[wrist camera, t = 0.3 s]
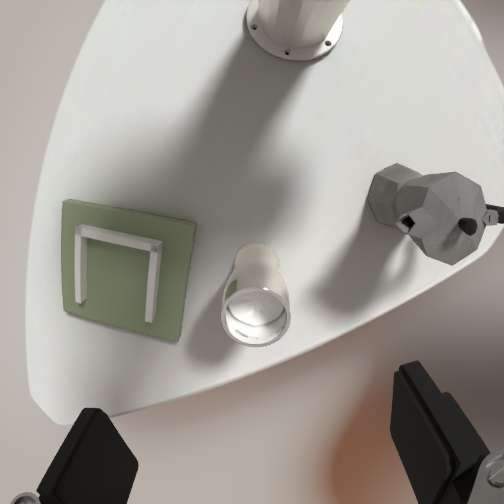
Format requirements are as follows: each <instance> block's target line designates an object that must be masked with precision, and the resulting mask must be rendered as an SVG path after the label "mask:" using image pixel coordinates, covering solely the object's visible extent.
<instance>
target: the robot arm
mask: <svg viewBox="0 0 504 504" xmlns="http://www.w3.org/2000/svg"><path fill="white" fill-rule="evenodd" d="M349 1H350V0H251V1H250V3H249V6H248V8H247V14H246V20H247V26H248V30H249V32H250V34H251V36H252V38H253V39H254V40H255V42H256V43H257V44H258V45H259V46H260V47H261V48H263V49H264V50H265V51H267V52H269V53H270V54H272V55H275V56H277V57H279V58H283V59H287V60H295V61H303V60H310V59H315V58H317V57H320V56H322V55H324V54H326V53H327V52H329V51H330V50H331V49H332V48H333V47H334V46H335V45H336V43H337V42H338V40H339V38H340V36H341V34H342V29H343V20H342V16H341V13H342V12H343V10H344V9H345V7H346V6H347V4H348V3H349ZM253 28H256V30H253ZM325 44H328V46H326V45H325ZM285 53H289V55H286V54H285ZM390 432H391V436H392V439H393V441H394V444H395V446H396V449H397V451H398V453H399V456H400V458H401V461H402V463H403V465H404V468H405V471H406V473H407V475H408V478H409V481H410V483H411V485H412V488H413V491H414V493H415V495H416V498H417V501H418V504H504V449H500V450H497V451H494V452H492V453H490V451H489V450H488V448H487V447H486V445H485V443H484V442H483V440H482V439H481V437H480V436H479V434H478V433H477V431H476V430H475V429H474V427H473V425H472V424H471V422H470V421H469V419H468V418H467V417H466V415H465V414H464V412H463V411H462V409H461V408H460V406H459V405H458V404H457V402H456V401H455V399H454V398H453V397H452V396H451V394H450V393H447V392H445V393H441V392H440V390H439V389H438V387H437V386H436V385H435V383H434V382H433V380H432V379H431V377H430V376H429V375H428V373H427V372H426V370H425V369H424V368H423V366H422V365H421V363H420V362H419V361H413V362H410V363H407V364H404V365H401V366H400V367H399V371H397V372H395V373H394V385H393V400H392V413H391V424H390ZM137 470H138V461H137V459H136V458H135V456H134V455H133V454H132V452H131V450H130V449H129V448H128V446H127V445H126V443H125V442H124V440H123V439H122V437H121V436H120V434H119V433H118V431H117V430H116V428H115V427H114V425H113V423H112V422H111V420H110V419H109V417H108V415H107V414H106V413H105V412H103V411H102V410H101V409H100V408H84V409H83V410H82V411H81V413H80V415H79V416H78V418H77V420H76V421H75V423H74V425H73V426H72V428H71V430H70V432H69V433H68V435H67V437H66V438H65V440H64V442H63V444H62V445H61V447H60V449H59V451H58V452H57V454H56V456H55V457H54V459H53V461H52V463H51V465H50V466H49V468H48V470H47V472H46V474H45V475H44V477H43V479H42V481H41V483H40V485H39V486H38V488H37V492H38V493H39V494H40V496H39V498H38V497H37V496H36V495H35V494H33V493H28V492H25V493H21V494H19V495H18V496H16V497H15V498H14V499H13V501H12V502H11V504H127V501H128V498H129V494H130V492H131V488H132V486H133V482H134V479H135V476H136V473H137Z"/></svg>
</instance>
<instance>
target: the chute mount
mask: <svg viewBox="0 0 504 504" xmlns="http://www.w3.org/2000/svg"><path fill="white" fill-rule="evenodd" d="M195 229H196V223H194V222H189V221H184V220H179V219H174V218H168V217H163V216H158V215H153V214H148V213H142V212H137V211H132V210H127V209H121V208H116V207H111V206H105V205H100V204H94V203H89V202H83V201H78V200H72V199H68V200H65V201H63V205H62V229H61V270H62V294H63V309H64V311H66V312H70V313H73V314H76V315H79V316H82V317H85V318H88V319H92V320H95V321H98V322H102V323H105V324H109V325H112V326H116V327H119V328H123V329H126V330H130V331H134V332H138V333H141V334H145V335H149V336H153V337H157V338H161V339H165V340H169V341H174V342H178V341H179V338H180V336H181V328H182V320H183V312H184V304H185V296H186V289H187V282H188V275H189V268H190V261H191V254H192V248H193V241H194V235H195Z"/></svg>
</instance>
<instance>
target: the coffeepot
mask: <svg viewBox="0 0 504 504" xmlns="http://www.w3.org/2000/svg"><path fill="white" fill-rule="evenodd" d="M368 201H369V203H370V206H371V209H372V211H373V213H374V215H375V217H376V220H377V222H380V223H383V224H385V225H388V226H391V227H393V228H396V229H399V230H400V231H401V232H402V233H405V234H408V235H409V236H410V237H411V238H412V239H413V241H414V242H415V243H416V244H417V245H418V246H419V248H420V249H421V250H422V251H423V252H424V254H425V255H426V256H428V257H431V258H433V259H436V260H439V261H441V262H444V263H447V264H449V265H454V264H456V263H457V262H459V261H460V260H462V259H463V258H465V257H467V256H468V255H470V254H471V253H473V252H474V251H476V250H477V249H478V246H479V243H480V241H481V238H482V235H483V232H484V230H485V227H486V225H487V226H489V225H497V223H500V224H503V223H504V207H499V206H493V205H488V204H485V200H484V197H483V193H482V189H481V186H480V185H478V184H477V183H475V182H473V181H471V180H470V179H468V178H466V177H464V176H463V175H461V174H459V173H457V172H450V173H439V174H429V175H424V176H423V175H421V174H420V173H418V172H416V171H414V170H411V169H409V168H407V167H405V166H403V165H400V164H398V163H396V164H394V165H392V166H389V167H387V168H385V169H383V170H382V171H380V172H378V173H376V174H375V177H374V180H373V182H372V184H371V188H370V193H369V195H368Z"/></svg>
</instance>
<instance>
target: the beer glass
mask: <svg viewBox="0 0 504 504" xmlns="http://www.w3.org/2000/svg"><path fill="white" fill-rule="evenodd" d="M234 268H235V270H234V271H233V273H232V274H231V276H230V277H229V279H228V281H227V283H226V286H225V289H224V293H223V299H222V312H221V322H222V326H223V328H224V330H225V332H226V333H227V334H228V336H229V337H230V338H232V339H233V340H234V341H236V342H237V343H239V344H242V345H245V346H249V347H263V346H267V345H270V344H272V343H274V342H276V341H278V340H279V339H280V338H281V337H282V336H283V335H284V334H285V333H286V331H287V329H288V327H289V324H290V319H291V315H290V299H289V292H288V289H287V285H286V283H285V281H284V279H283V277H282V275H281V274H280V272H279V271H278V269H279V260H278V257H277V255H276V253H275V252H274V251H273V250H272V249H271V248H270V247H269V246H267V245H265V244H261V243H252V244H249V245H246V246H244V247H243V248H242V249H241V250H240V251H239V252H238V253H237V255H236V257H235V261H234Z"/></svg>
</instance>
